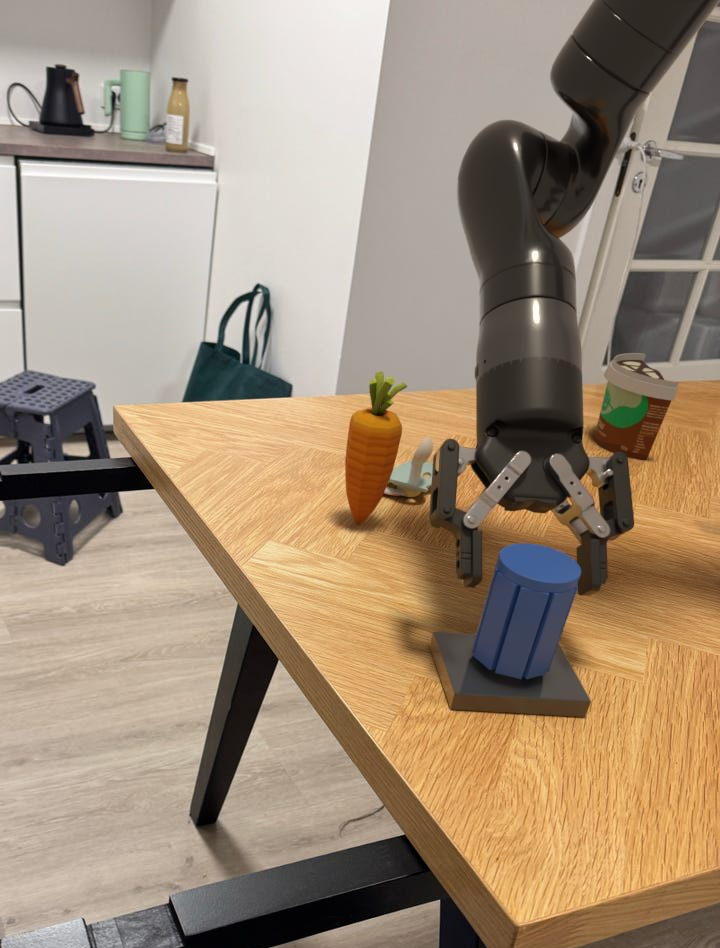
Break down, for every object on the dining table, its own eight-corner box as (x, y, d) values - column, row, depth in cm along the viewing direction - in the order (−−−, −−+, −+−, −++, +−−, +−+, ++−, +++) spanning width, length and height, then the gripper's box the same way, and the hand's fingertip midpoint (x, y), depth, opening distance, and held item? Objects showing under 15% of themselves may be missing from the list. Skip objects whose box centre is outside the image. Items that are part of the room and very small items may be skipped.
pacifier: (365, 495, 94) (419, 508, 92) (373, 438, 90) (430, 450, 88) (387, 472, 99) (439, 484, 97) (396, 418, 96) (450, 429, 94)
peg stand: (551, 654, 71) (588, 549, 66) (585, 717, 64) (628, 607, 59) (429, 646, 70) (455, 540, 65) (450, 709, 64) (481, 597, 59)
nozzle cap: (513, 629, 69) (542, 538, 65) (565, 669, 65) (598, 575, 61) (457, 643, 67) (482, 549, 63) (506, 685, 63) (537, 588, 59)
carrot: (341, 508, 90) (365, 360, 82) (388, 519, 89) (418, 370, 81) (327, 527, 86) (351, 374, 78) (376, 540, 85) (406, 385, 77)
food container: (573, 423, 118) (596, 347, 112) (619, 428, 118) (644, 352, 113) (600, 459, 108) (627, 378, 102) (650, 464, 108) (680, 383, 102)
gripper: (450, 345, 62) (449, 569, 59) (646, 361, 63) (656, 582, 60) (420, 394, 69) (418, 595, 66) (597, 408, 70) (603, 607, 67)
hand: (531, 589), depth 63 cm, fingers open, 8 cm apart
